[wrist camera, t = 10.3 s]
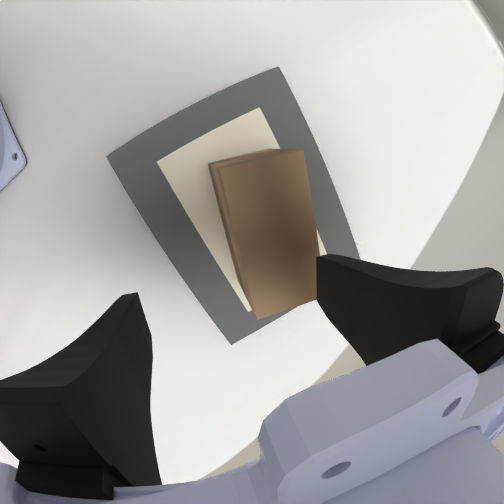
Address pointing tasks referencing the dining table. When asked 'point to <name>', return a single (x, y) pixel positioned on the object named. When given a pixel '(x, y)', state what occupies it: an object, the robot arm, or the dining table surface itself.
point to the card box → (269, 227)
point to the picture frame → (203, 195)
